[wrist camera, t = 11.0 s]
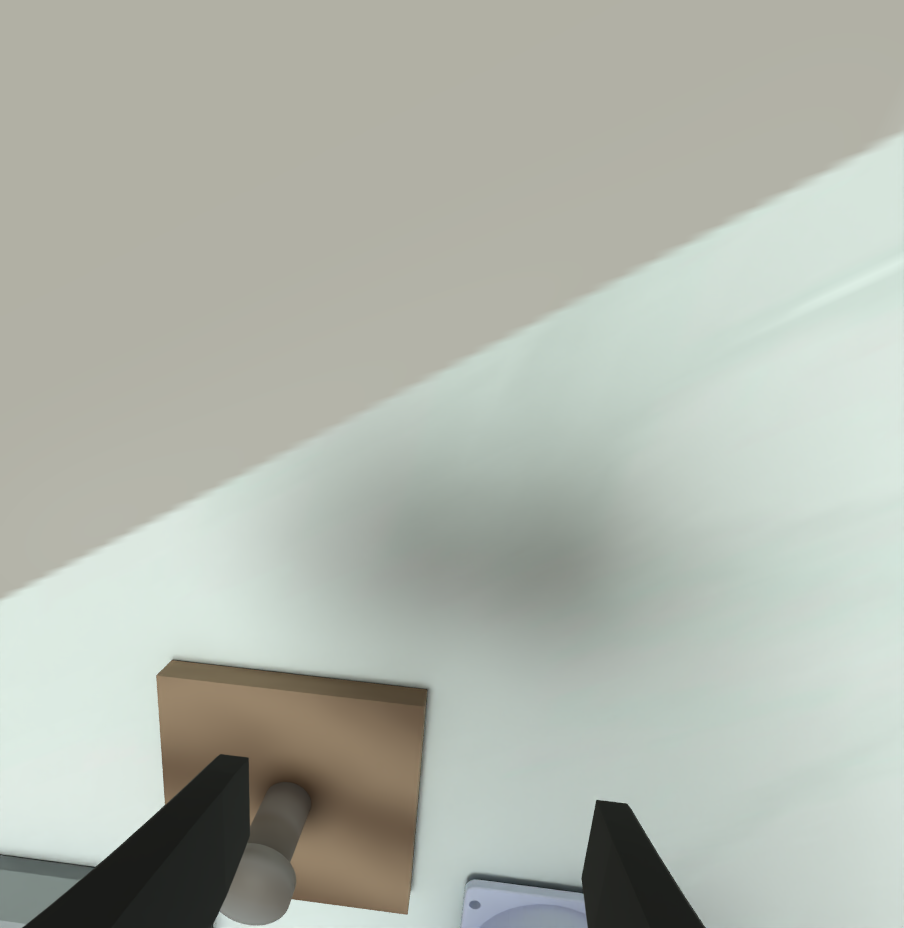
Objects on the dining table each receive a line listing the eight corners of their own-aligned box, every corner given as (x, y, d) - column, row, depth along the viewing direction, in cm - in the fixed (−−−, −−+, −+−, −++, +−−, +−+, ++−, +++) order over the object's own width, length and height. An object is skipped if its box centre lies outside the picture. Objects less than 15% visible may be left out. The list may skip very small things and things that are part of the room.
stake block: (410, 890, 23) (392, 1023, 18) (183, 860, 23) (111, 983, 18) (427, 689, 20) (411, 786, 16) (171, 660, 20) (85, 746, 16)
